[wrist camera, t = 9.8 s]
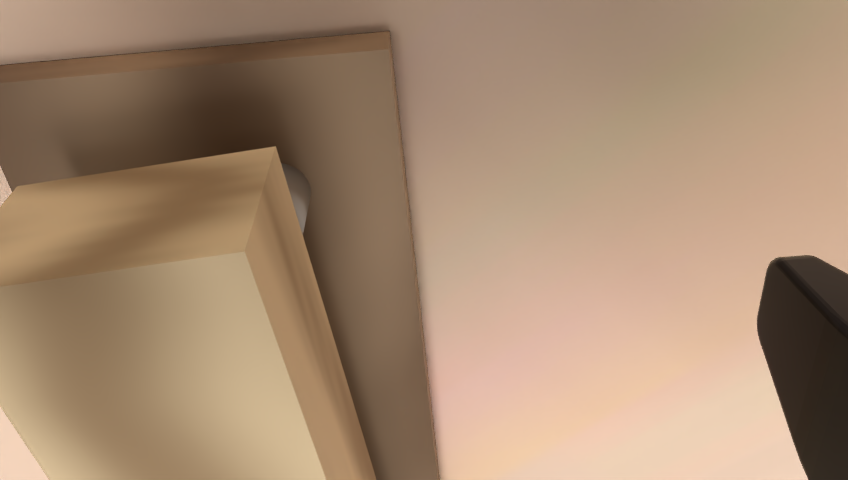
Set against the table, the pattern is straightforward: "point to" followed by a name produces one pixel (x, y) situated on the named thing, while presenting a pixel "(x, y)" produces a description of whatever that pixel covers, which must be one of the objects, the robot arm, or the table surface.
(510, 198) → the table surface
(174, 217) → the beige wooden block
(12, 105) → the peg stand
